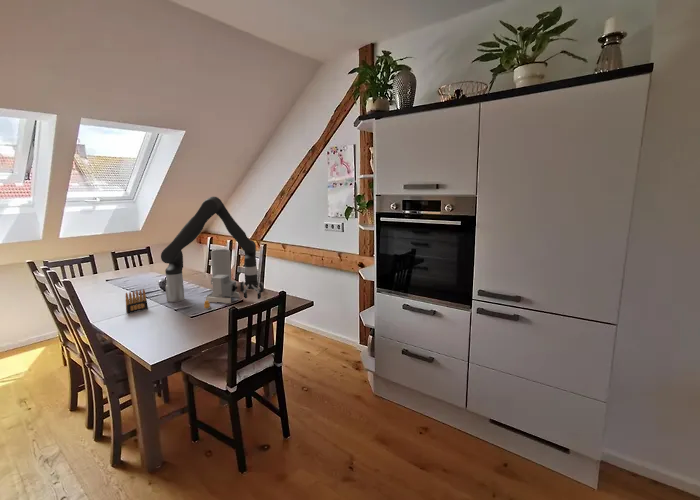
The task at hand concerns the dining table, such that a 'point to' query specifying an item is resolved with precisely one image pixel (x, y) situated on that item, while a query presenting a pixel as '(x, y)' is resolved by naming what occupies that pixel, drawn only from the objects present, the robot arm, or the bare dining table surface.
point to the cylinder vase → (221, 262)
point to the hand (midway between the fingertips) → (252, 298)
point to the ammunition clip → (136, 302)
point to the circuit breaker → (223, 286)
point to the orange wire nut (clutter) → (206, 304)
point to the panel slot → (219, 299)
